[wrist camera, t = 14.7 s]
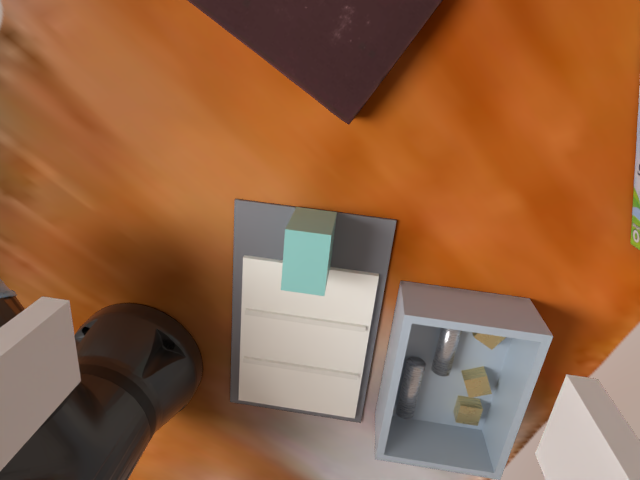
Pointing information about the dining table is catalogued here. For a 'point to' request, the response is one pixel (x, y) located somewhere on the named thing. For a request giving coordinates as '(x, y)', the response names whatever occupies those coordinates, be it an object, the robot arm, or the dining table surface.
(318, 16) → the book
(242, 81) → the dining table surface
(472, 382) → the parts
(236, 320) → the mat
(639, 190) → the snack box
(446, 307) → the tub
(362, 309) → the lid
